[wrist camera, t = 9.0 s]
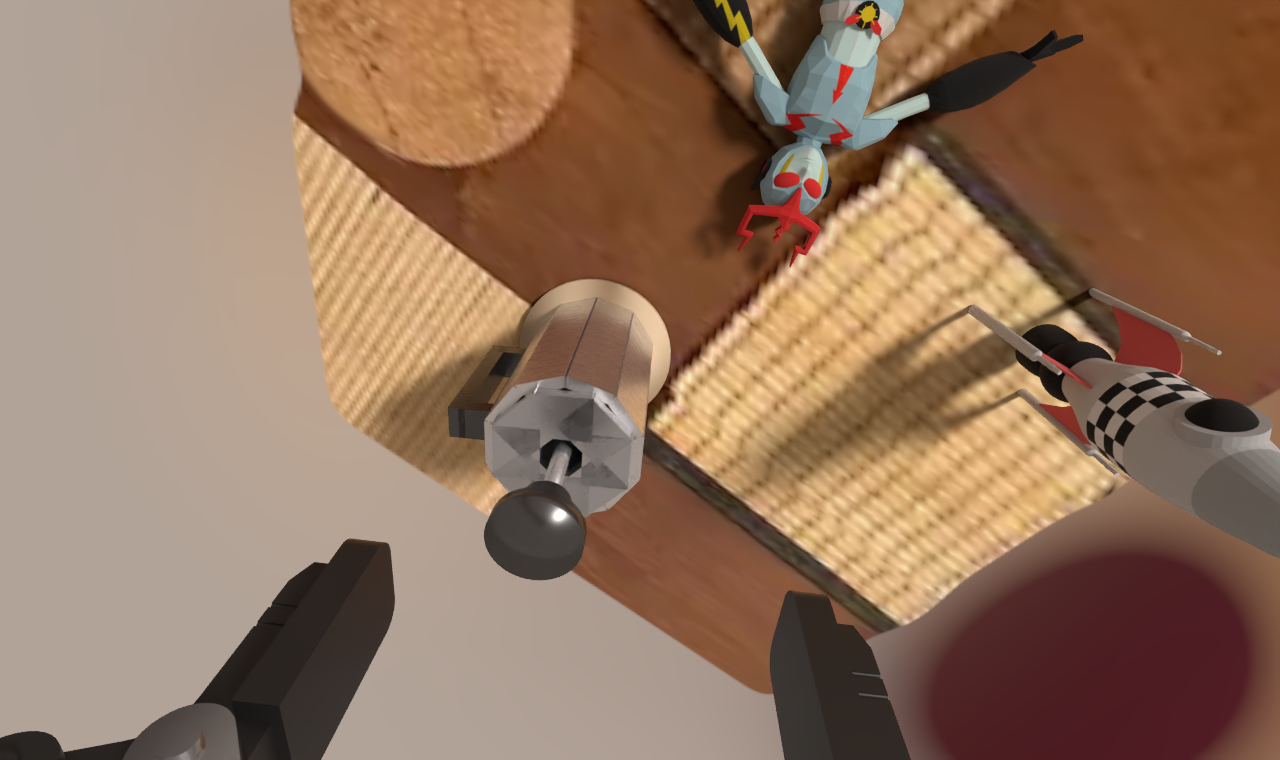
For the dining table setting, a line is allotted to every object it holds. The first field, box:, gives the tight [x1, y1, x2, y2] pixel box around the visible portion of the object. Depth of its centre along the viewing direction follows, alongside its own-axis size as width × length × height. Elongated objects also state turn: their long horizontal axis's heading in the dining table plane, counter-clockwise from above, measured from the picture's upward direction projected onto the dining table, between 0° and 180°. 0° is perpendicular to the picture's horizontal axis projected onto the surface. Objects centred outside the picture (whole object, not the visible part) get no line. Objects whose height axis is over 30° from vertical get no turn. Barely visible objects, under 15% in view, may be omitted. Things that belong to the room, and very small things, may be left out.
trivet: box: [519, 278, 671, 403], centre depth 49 cm, size 12×12×1 cm
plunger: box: [484, 388, 613, 580], centre depth 36 cm, size 6×6×18 cm
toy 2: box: [968, 288, 1280, 558], centre depth 33 cm, size 9×8×30 cm
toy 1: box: [693, 0, 1083, 267], centre depth 36 cm, size 26×8×30 cm
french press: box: [448, 297, 653, 517], centre depth 41 cm, size 12×10×15 cm
